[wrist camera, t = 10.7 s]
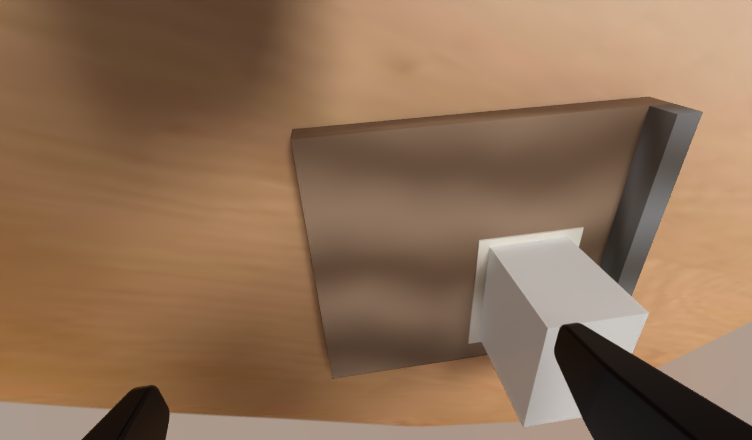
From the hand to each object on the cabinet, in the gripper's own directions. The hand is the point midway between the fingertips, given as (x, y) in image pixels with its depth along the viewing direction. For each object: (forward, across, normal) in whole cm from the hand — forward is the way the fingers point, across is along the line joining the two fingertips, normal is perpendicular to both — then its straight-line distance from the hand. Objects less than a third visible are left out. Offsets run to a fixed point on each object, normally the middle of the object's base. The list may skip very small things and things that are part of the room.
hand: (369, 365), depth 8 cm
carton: (+10, -10, +8) cm, 17 cm away
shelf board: (+12, -7, +6) cm, 15 cm away
